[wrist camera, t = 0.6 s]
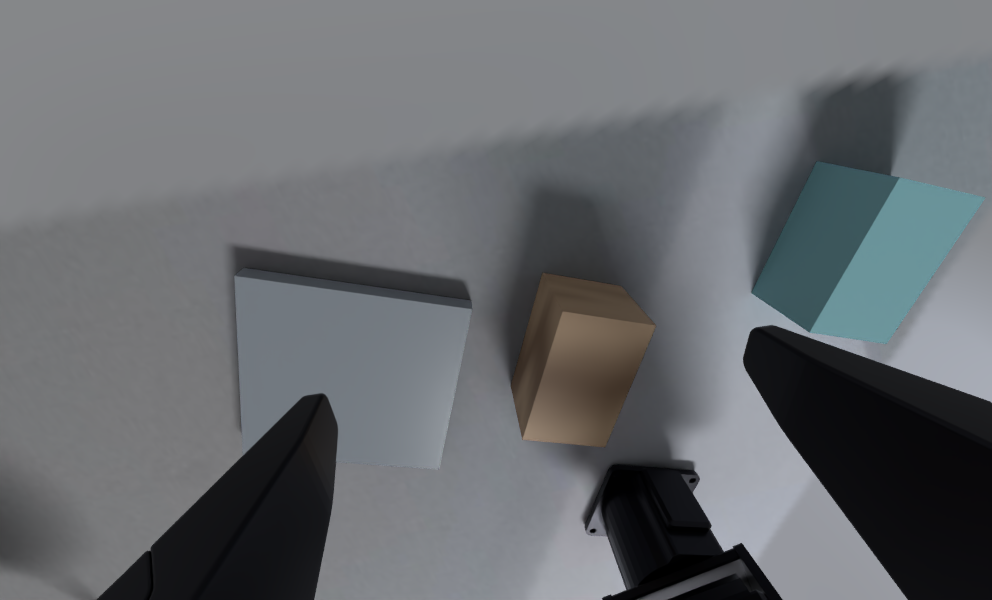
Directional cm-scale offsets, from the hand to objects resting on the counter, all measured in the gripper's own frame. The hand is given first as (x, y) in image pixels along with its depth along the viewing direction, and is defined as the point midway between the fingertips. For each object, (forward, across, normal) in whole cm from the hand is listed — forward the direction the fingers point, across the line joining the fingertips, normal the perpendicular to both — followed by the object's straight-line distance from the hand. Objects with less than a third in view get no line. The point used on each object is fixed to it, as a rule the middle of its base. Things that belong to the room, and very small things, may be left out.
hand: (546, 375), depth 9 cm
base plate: (+13, +8, +9) cm, 17 cm away
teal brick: (+12, -18, +4) cm, 22 cm away
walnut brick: (+12, -4, +8) cm, 16 cm away
